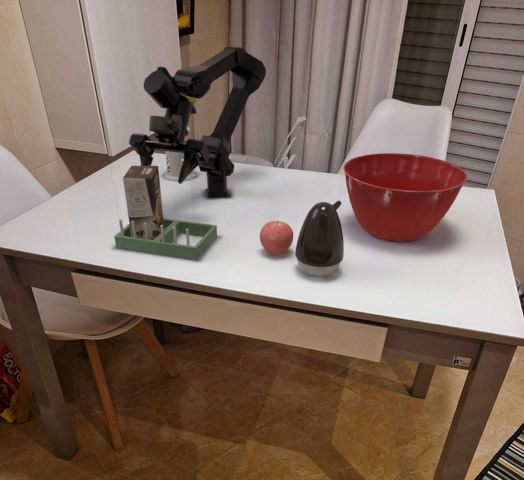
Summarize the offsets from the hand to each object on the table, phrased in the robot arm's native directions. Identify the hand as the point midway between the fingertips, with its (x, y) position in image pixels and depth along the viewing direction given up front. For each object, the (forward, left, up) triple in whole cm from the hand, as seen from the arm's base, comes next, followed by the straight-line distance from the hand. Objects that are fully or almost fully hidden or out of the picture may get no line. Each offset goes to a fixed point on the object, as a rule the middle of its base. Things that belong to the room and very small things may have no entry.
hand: (161, 181), depth 118 cm
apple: (+19, +24, -12) cm, 33 cm away
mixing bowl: (+12, +56, -12) cm, 58 cm away
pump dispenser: (+29, +31, -12) cm, 44 cm away
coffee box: (+7, -4, -12) cm, 14 cm away
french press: (-40, +7, -12) cm, 42 cm away
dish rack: (+9, 0, -11) cm, 15 cm away
